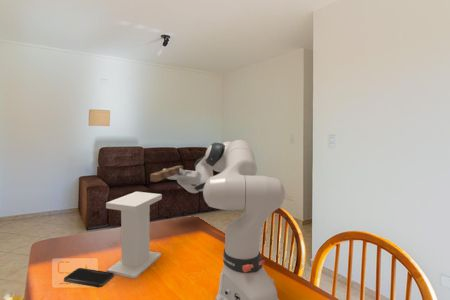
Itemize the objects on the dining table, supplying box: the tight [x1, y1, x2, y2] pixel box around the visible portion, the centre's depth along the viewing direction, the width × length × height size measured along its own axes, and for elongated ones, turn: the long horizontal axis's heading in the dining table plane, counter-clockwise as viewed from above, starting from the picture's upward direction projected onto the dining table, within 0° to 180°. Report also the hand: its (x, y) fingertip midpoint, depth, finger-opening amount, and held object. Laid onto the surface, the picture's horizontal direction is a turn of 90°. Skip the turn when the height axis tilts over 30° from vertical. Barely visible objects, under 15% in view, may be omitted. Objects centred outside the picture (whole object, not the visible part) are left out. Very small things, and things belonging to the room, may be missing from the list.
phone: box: [63, 267, 115, 288], centre depth 95 cm, size 8×1×15 cm
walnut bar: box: [149, 165, 184, 183], centre depth 127 cm, size 26×3×3 cm, turn 163°
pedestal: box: [105, 191, 163, 280], centre depth 104 cm, size 18×12×26 cm, turn 163°
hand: (175, 169), depth 134 cm, fingers closed on walnut bar, 3 cm apart
